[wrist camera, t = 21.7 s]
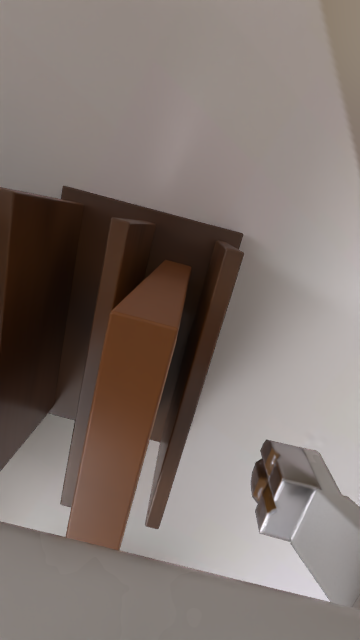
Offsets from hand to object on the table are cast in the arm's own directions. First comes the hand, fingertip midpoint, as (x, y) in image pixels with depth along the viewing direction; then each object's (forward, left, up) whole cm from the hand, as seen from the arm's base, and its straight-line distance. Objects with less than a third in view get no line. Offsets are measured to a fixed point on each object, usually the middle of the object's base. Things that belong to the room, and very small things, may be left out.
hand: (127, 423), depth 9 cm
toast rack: (0, -2, -9) cm, 9 cm away
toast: (+1, 0, -8) cm, 8 cm away
